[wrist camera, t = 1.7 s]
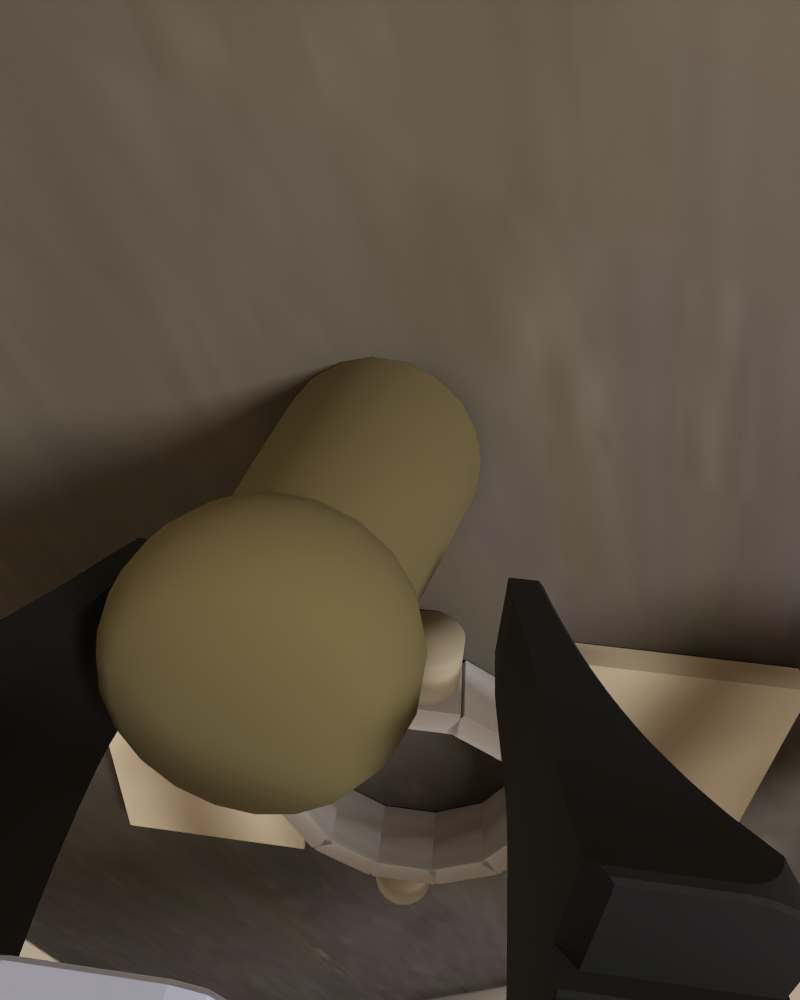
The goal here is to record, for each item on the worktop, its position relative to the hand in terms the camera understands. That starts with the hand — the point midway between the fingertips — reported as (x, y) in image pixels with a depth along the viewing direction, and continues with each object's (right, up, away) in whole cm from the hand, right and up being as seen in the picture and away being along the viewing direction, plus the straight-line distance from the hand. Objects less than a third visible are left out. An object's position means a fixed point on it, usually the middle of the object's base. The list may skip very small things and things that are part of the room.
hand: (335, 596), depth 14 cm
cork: (+1, +3, +6) cm, 7 cm away
